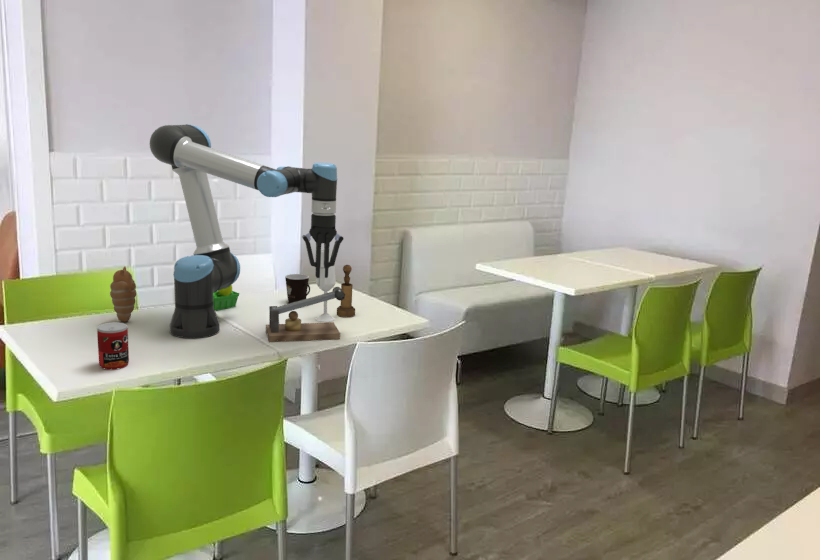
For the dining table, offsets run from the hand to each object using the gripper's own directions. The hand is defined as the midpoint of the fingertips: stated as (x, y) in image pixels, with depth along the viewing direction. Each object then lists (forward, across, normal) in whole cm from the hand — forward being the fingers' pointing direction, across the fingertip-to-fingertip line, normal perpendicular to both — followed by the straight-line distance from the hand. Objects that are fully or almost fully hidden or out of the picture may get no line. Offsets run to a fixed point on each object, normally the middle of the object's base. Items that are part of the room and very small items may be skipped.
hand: (321, 287), depth 231 cm
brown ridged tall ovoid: (+16, -61, +21) cm, 66 cm away
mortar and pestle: (+16, +12, +21) cm, 29 cm away
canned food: (+16, -60, -20) cm, 65 cm away
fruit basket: (+16, -30, +35) cm, 48 cm away
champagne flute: (+16, +4, +17) cm, 23 cm away
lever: (+6, -4, 0) cm, 7 cm away
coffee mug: (+16, -3, +37) cm, 40 cm away
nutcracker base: (+16, -6, 0) cm, 16 cm away
